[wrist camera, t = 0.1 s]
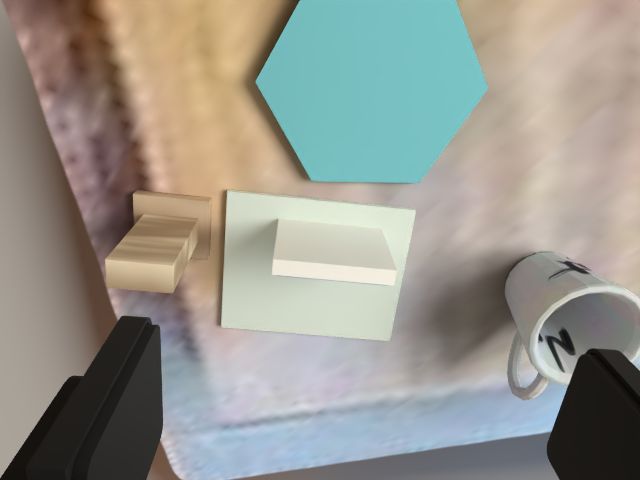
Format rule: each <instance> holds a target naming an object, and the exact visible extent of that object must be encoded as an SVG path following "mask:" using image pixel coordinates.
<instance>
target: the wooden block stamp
mask: <svg viewBox="0 0 640 480" xmlns="http://www.w3.org/2000/svg"><path fill="white" fill-rule="evenodd" d="M211 208H212V198H211V197H201V196H191V195H181V194H171V193H161V192H151V191H141V190H136V191H135V192H134V193H133V213H134V226H133V227H132V229H131V230H130V231H129V232H128V233H127V234H126V236H125V237H124V238H123V239H122V240H121V242H120V243H119V244H118V245H117V246H116V247H115V249H114V250H113V251H112V252H111V253H110V255H109V256H108V257H107V258H106V259H105V265H106V282H107V288H117V289H129V290H141V291H152V292H164V293H173V291H174V289H175V287H176V285H177V283H178V281H179V279H180V277H181V275H182V273H183V271H184V269H185V267H186V265H187V263H188V261H189V259H190V258H195V259H206V260H208V258H209V256H210V239H211Z"/></svg>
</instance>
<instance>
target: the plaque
mask: <svg viewBox="0 0 640 480" xmlns="http://www.w3.org/2000/svg"><path fill="white" fill-rule="evenodd" d="M255 83H256V84H257V86H258V88H259V90H260V91H261V93H262V95H263V97H264V98H265V100H266V102H267V104H268V105H269V107H270V109H271V111H272V112H273V114H274V116H275V118H276V119H277V121H278V123H279V125H280V126H281V128H282V130H283V132H284V133H285V135H286V137H287V139H288V140H289V142H290V144H291V146H292V147H293V149H294V151H295V153H296V154H297V156H298V158H299V160H300V161H301V163H302V165H303V167H304V168H305V170H306V172H307V174H308V175H309V177H310V179H311V181H330V182H389V183H419V182H420V181H421V180H422V178H423V177H424V176H425V174H426V173H427V172H428V170H429V169H430V167H431V166H432V165H433V163H434V162H435V161H436V159H437V158H438V157H439V155H440V154H441V152H442V151H443V150H444V148H445V147H446V146H447V144H448V143H449V142H450V140H451V139H452V137H453V136H454V135H455V133H456V132H457V131H458V129H459V128H460V126H461V125H462V124H463V122H464V121H465V120H466V118H467V117H468V116H469V114H470V113H471V111H472V110H473V109H474V107H475V106H476V105H477V103H478V102H479V101H480V99H481V98H482V96H483V95H484V94H485V92H486V91H487V90H488V87H487V84H486V81H485V78H484V76H483V73H482V70H481V68H480V65H479V62H478V60H477V57H476V54H475V51H474V49H473V46H472V43H471V41H470V38H469V35H468V32H467V30H466V27H465V24H464V22H463V19H462V16H461V14H460V11H459V8H458V5H457V3H456V0H300V1H299V3H298V4H297V6H296V8H295V10H294V12H293V14H292V15H291V17H290V19H289V21H288V23H287V25H286V26H285V28H284V30H283V32H282V34H281V36H280V37H279V39H278V41H277V43H276V45H275V47H274V48H273V50H272V52H271V54H270V56H269V57H268V59H267V61H266V63H265V65H264V67H263V68H262V70H261V72H260V74H259V76H258V78H257V79H256V81H255Z"/></svg>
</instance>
